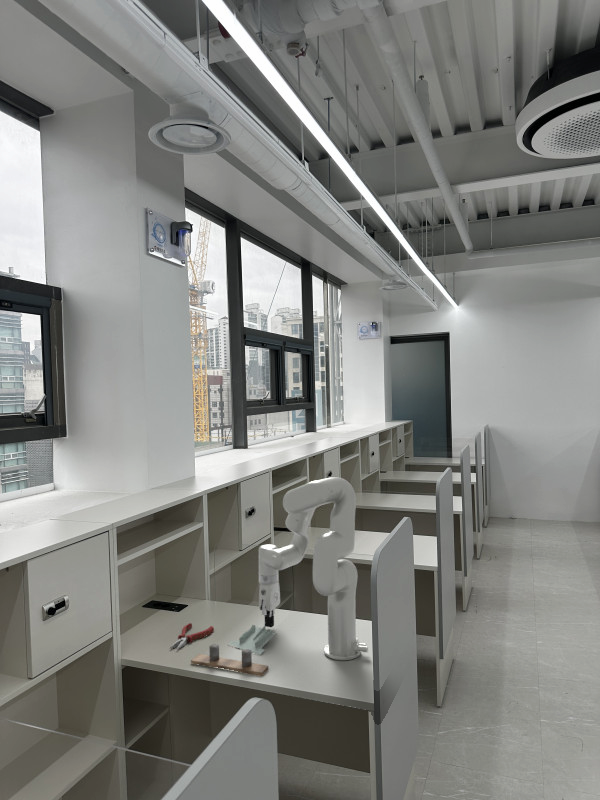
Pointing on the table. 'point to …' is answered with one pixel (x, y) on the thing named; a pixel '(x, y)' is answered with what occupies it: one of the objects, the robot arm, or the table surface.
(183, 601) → the table surface
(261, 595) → the robot arm
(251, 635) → the metal bracket
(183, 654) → the table surface
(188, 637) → the pliers
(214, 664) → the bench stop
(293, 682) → the table surface
